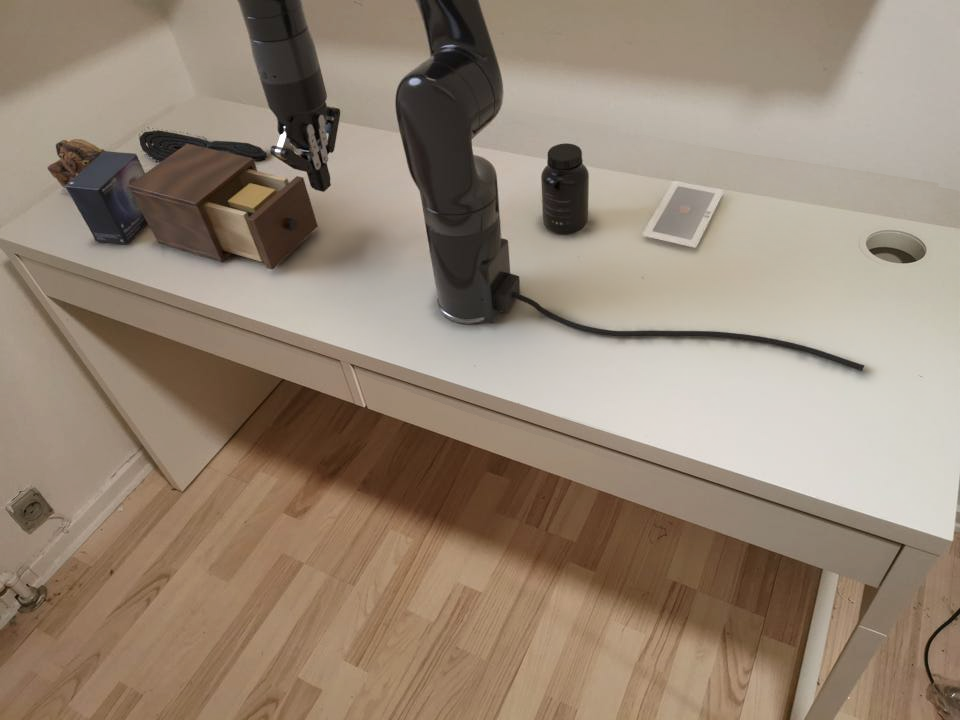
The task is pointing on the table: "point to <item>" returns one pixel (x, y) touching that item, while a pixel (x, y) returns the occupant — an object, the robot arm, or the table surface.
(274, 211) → the drawer
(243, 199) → the tea tin
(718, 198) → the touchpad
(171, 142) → the hairbrush
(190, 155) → the cabinet
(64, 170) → the wooden carving
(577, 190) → the supplement bottle
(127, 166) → the small box
